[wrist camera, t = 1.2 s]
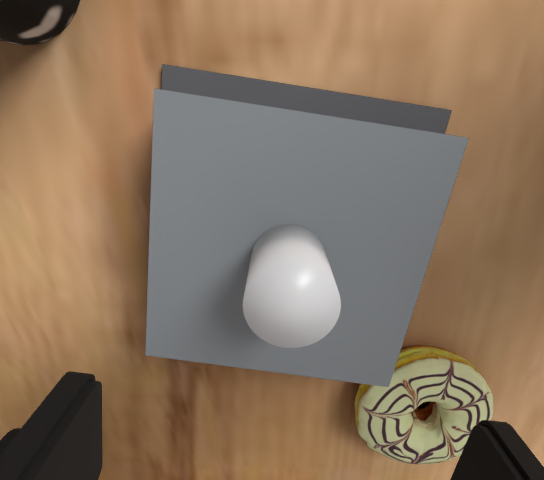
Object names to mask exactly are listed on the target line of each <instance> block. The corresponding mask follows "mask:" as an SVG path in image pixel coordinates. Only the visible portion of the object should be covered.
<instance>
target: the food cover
mask: <svg viewBox="0 0 544 480" xmlns="http://www.w3.org/2000/svg"><path fill="white" fill-rule="evenodd" d="M468 139H469V138H466V137H460V136H454V135H447V134H441V133H435V132H428V131H422V130H415V129H409V128H403V127H396V126H390V125H384V124H377V123H371V122H364V121H358V120H352V119H345V118H339V117H333V116H326V115H320V114H314V113H307V112H301V111H294V110H288V109H282V108H275V107H269V106H263V105H256V104H250V103H243V102H237V101H231V100H224V99H218V98H212V97H205V96H199V95H193V94H186V93H180V92H173V91H167V90H161V89H154V108H153V138H152V169H151V199H150V230H149V260H148V291H147V321H146V352H145V355H146V356H154V357H161V358H169V359H176V360H184V361H192V362H199V363H207V364H215V365H222V366H230V367H238V368H245V369H253V370H261V371H268V372H276V373H284V374H291V375H299V376H306V377H314V378H322V379H329V380H337V381H345V382H352V383H360V384H368V385H375V386H383V387H389V385H390V382H391V378H392V375H393V372H394V369H395V366H396V363H397V360H398V357H399V354H400V351H401V347H402V344H403V341H404V338H405V335H406V332H407V329H408V326H409V323H410V319H411V316H412V313H413V310H414V307H415V304H416V301H417V298H418V295H419V292H420V288H421V285H422V282H423V279H424V276H425V273H426V270H427V267H428V264H429V260H430V257H431V254H432V251H433V248H434V245H435V242H436V239H437V236H438V233H439V229H440V226H441V223H442V220H443V217H444V214H445V211H446V208H447V205H448V201H449V198H450V195H451V192H452V189H453V186H454V183H455V180H456V177H457V174H458V170H459V167H460V164H461V161H462V158H463V155H464V152H465V149H466V146H467V143H468Z"/></svg>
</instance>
